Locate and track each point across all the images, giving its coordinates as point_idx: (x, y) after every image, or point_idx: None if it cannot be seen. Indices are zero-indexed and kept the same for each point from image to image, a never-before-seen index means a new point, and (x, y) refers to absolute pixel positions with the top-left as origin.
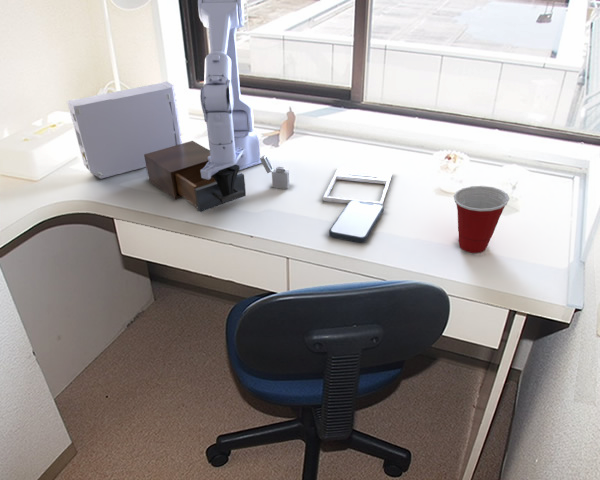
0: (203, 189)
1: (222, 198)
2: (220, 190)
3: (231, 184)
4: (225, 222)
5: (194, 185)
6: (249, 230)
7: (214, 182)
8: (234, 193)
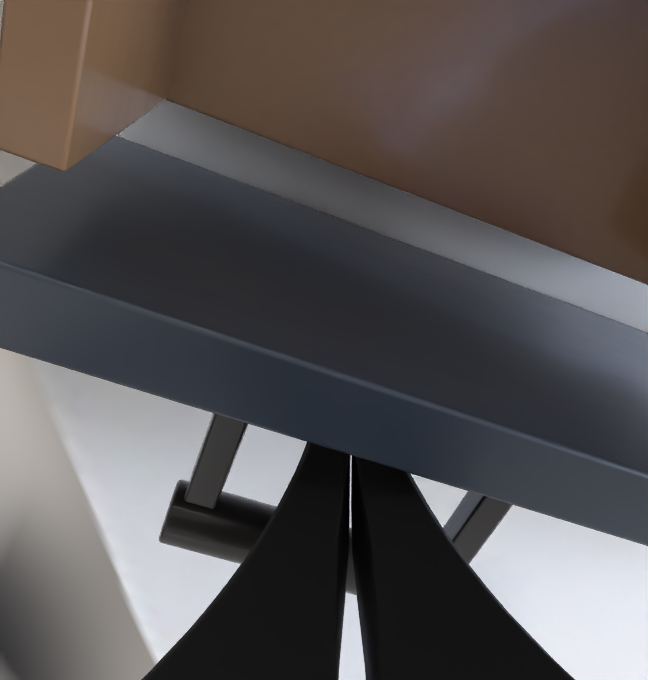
0: (63, 354)
1: (174, 543)
2: (298, 468)
3: (366, 664)
4: (158, 436)
5: (40, 104)
6: (177, 604)
7: (362, 390)
8: (348, 590)
